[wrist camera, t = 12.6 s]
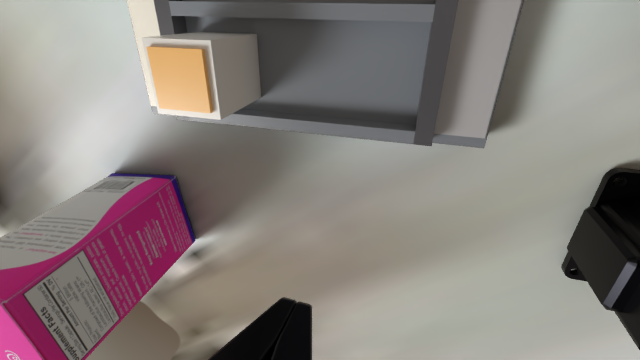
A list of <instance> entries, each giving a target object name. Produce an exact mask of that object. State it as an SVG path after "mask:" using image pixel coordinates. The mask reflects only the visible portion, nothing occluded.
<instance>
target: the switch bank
mask: <svg viewBox="0 0 640 360" xmlns="http://www.w3.org/2000/svg"><path fill="white" fill-rule="evenodd" d="M523 1H524V0H127V3H128V8H129V12H130V17H131V21H132V25H133V30H134V34H135V39H136V43H137V47H138V52H139V56H140V61H141V65H142V69H143V74H144V78H145V82H146V87H147V91H148V96H149V100H150V104H151V109H152V113H153V114H159V113H158V110H157V106H156V101H155V97H154V92H153V88H152V83H151V79H150V74H149V69H148V65H147V60H146V56H145V51H144V47H143V42H142V37H152V36H162V35H173V34H183V33H193V32H221V33H248V34H257V43H258V58H259V73H260V87H261V98H259V99H258V100H256V101H254V102H252V103H250V104H249V105H247V106H245V107H243V108H241V109H240V110H238V111H236V112H234V113H232V114H231V115H229V116H227V117H225V118H223V119H221V120H217V119H207V118H198V117H188V116H178V115H169V114H159V115H169V116H176V118H177V119H180V120H189V121H199V122H208V123H218V124H227V125H237V126H246V127H255V128H265V129H274V130H284V131H293V132H303V133H312V134H321V135H331V136H340V137H350V138H359V139H369V140H378V141H388V142H397V143H406V144H416V145H425V146H432V143H439V144H448V145H458V146H468V147H477V148H484V147H485V143H486V140H487V136H488V132H489V128H490V125H491V121H492V117H493V113H494V110H495V106H496V102H497V98H498V95H499V91H500V87H501V83H502V80H503V76H504V72H505V68H506V65H507V61H508V57H509V53H510V50H511V46H512V42H513V39H514V35H515V31H516V27H517V24H518V20H519V16H520V12H521V9H522V5H523Z"/></svg>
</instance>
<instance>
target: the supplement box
mask: <svg viewBox="0 0 640 360" xmlns="http://www.w3.org/2000/svg"><path fill="white" fill-rule="evenodd" d="M194 241H195V237H194V234H193V230H192V227H191V224H190V221H189V218H188V215H187V212H186V209H185V205H184V202H183V199H182V196H181V192H180V189H179V186H178V182H177V179H176V176H172V175H151V174H118V173H112V174H111V175H109V176H108V177H106V178H104V179H103V180H101V181H99V182H98V183H96V184H94V185H92V186H91V187H89V188H87V189H85V190H84V191H82V192H80V193H79V194H77V195H75V196H73V197H71V198H70V199H68V200H66V201H65V202H63V203H61V204H59V205H57V206H56V207H54V208H52V209H50V210H49V211H47V212H45V213H43V214H41V215H40V216H38V217H36V218H34V219H33V220H31V221H29V222H27V223H26V224H24V225H22V226H20V227H18V228H17V229H15V230H13V231H12V232H10V233H8V234H6V235H4V236H3V237H1V238H0V360H85V359H86V358H87V357H88V356H89V354H91V353H92V352H93V351H94V349H95V348H96V347H97V346H98V345H99V344H100V343H101V342H102V341H103V340H104V339H105V337H106V336H107V335H108V334H109V333H110V332H111V331H112V330H113V329H114V328H115V326H117V324H119V323H120V322H121V320H122V319H123V318H124V317H125V316H126V315H127V314H128V313H129V312H130V311H131V309H132V308H133V307H134V306H135V305H136V304H137V303H138V302H139V301H140V300H141V299H142V297H143V296H144V295H145V294H146V293H147V292H148V291H149V290H150V289H151V288H152V287H153V286H154V285H155V283H156V282H157V281H158V280H159V279H160V278H161V277H162V276H163V275H164V274H165V273H166V272H167V270H168V269H169V268H170V267H171V266H172V265H173V264H174V263H175V262H176V261H177V260H178V259H179V258H180V256H181V255H182V254H183V253H184V252H185V251H186V250H187V249H188V248H189V247H190V246H191V245H192V244H193V243H194Z"/></svg>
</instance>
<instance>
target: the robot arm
mask: <svg viewBox="0 0 640 360" xmlns="http://www.w3.org/2000/svg"><path fill="white" fill-rule="evenodd" d="M618 177H622V179H621V181H619V182H615V183H614V180H615V179H616V178H618ZM567 249H568V253H567V255H566V257H565V260H564V262H563V264H562V270H563V272H564V274H565V275H566V276H567V277H568V278H571V279H577V280H582V281H587V282H588V283H589V285H590V286H591V288H592V290H593V291H594V293H595V294H596V296H597V298H598V299H599V301H600V302H601V304H602V305H603V306H604V308H605V309H606V310H611V311H615V313H616V315H617V316H618V318H619V319H620V321H621V322H622V324H623V325H624V327H625V328H626V330H627V331H628V333H629V335H630V336H631V338H632V339H633V341H634V342H635V344H636V345H637V347H638V348H639V350H640V170H633V169H623V168H615V169H612V170H610V171H608V172H607V173H606V174H605V175H604V177H603V179H602V181H601V183H600V185H599V187H598V189H597V191H596V194H595V196H594V198H593V200H592V202H591V204H590V206H589V207H588V208H587V209H585V210H584V212H583V214H582V216H581V218H580V221H579V223H578V225H577V227H576V229H575V231H574V234H573V236H572V238H571V240H570V242H569V244H568V246H567ZM573 268H577V269H576V270H571V269H573ZM208 360H312V306H311V305H310V304H307V303H303V302H296V301H295V300H292V299H289V298H285V297H283V298H281V299H280V300H278V301H277V302H276V303H275V304H274V305H272V306H271V307H270V308H269V309H268V310H266V311H265V312H264V313H263V314H262V315H260V316H259V317H258V318H257V319H256V320H255V321H253V322H252V323H251V324H250V325H249V326H247V327H246V328H245V329H244V330H243V331H241V332H240V333H239V334H238V335H237V336H235V337H234V338H233V339H232V340H231V341H229V342H228V343H227V344H226V345H225V346H224V347H222V348H221V349H220V350H219V351H218V352H216V353H215V354H214V355H213V356H212V357H210V358H209V359H208Z"/></svg>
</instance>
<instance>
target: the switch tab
mask: <svg viewBox="0 0 640 360" xmlns="http://www.w3.org/2000/svg"><path fill="white" fill-rule="evenodd" d="M142 42H143V47H144V51H145V56H146V60H147V65H148V69H149V74H150V79H151V83H152V88H153V92H154V97H155V101H156V106H157V110H158V113H159V114H169V115H178V116H188V117H198V118H207V119H217V120H221V119H223V118H225V117H227V116H229V115H231V114H232V113H234V112H236V111H238V110H240V109H241V108H243V107H245V106H247V105H249V104H250V103H252V102H254V101H256V100H258V99H259V98H261V87H260V73H259V58H258V43H257V34H248V33H221V32H193V33H183V34H173V35H162V36H152V37H142Z"/></svg>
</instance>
